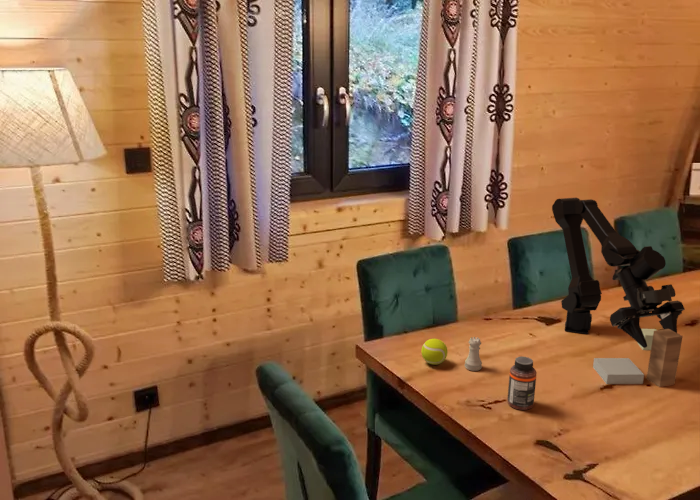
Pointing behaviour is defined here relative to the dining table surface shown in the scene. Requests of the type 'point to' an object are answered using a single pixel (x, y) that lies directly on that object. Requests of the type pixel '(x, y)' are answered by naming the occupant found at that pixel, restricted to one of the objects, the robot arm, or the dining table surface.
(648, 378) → the walnut pillar
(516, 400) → the supplement bottle
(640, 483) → the dining table surface
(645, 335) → the sage cube
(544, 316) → the dining table surface
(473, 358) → the rook chess piece
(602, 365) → the slate slab
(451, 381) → the dining table surface
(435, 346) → the tennis ball
